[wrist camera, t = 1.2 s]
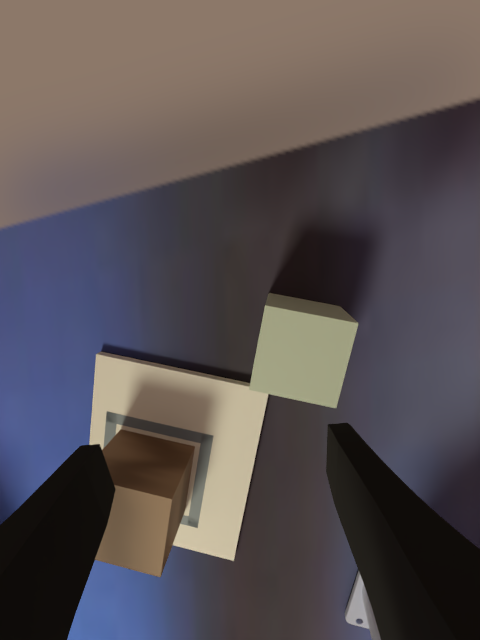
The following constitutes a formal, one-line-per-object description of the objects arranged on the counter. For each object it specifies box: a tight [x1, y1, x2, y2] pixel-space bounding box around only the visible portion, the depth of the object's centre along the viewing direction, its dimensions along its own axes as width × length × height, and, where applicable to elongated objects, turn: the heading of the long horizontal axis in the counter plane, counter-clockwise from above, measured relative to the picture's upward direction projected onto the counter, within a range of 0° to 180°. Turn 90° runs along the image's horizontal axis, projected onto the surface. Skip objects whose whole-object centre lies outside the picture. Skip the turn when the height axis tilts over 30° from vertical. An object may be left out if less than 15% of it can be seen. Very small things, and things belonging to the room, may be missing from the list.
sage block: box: [249, 293, 358, 408], centre depth 19 cm, size 4×4×5 cm
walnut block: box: [95, 429, 195, 577], centre depth 21 cm, size 6×6×5 cm
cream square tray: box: [89, 352, 268, 561], centre depth 24 cm, size 12×14×1 cm
